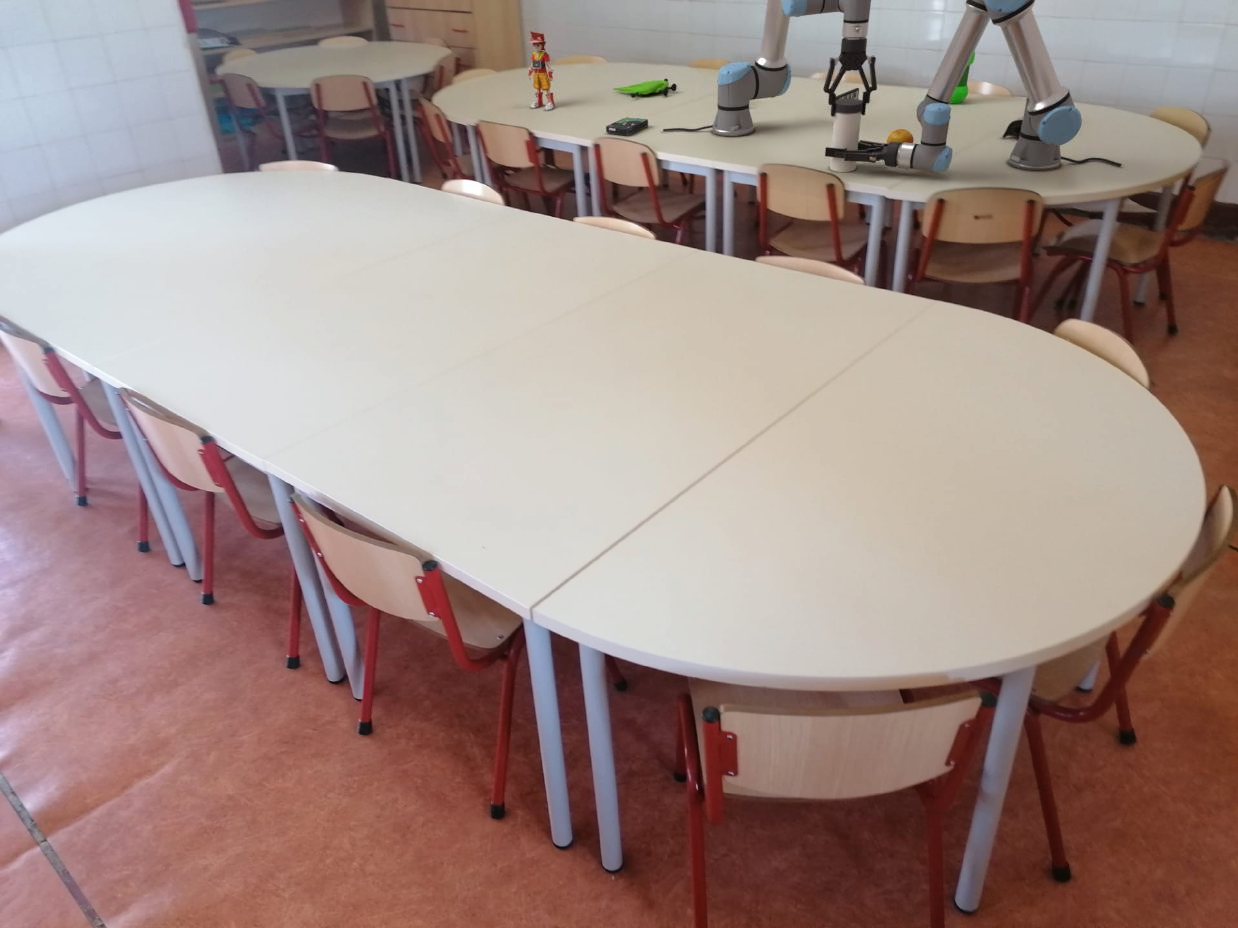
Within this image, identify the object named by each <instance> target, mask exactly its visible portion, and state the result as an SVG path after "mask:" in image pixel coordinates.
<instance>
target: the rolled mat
mask: <svg viewBox="0 0 1238 928" xmlns="http://www.w3.org/2000/svg"><path fill="white" fill-rule="evenodd" d="M1023 116H1024V115H1022V116H1020V117H1018V118H1016V119H1014V120H1013V121H1011V122H1010V123H1009V124H1008V125H1007V127H1006V129H1005V131H1004V133H1003V135H1002V139H1004V138H1006V137H1013V138H1015V139H1016V140H1018V139H1019V137H1020V132H1021V127H1022V122H1023Z"/></svg>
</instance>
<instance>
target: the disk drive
mask: <svg viewBox="0 0 1238 928" xmlns="http://www.w3.org/2000/svg"><path fill="white" fill-rule="evenodd" d="M648 126H649V120H648V119H647V118H639V117H636V118H635V117H628V116H627V117H624V118H621V119H619V120H617V121H614V122H613V123H610V124H608V125H606V126H605V130H606V131H605V132H606V133H607V134H613V135H619V136H621V135H622V136H630V135H633V134H634V133H637V132H638V131H641V130H643V129H645V128H646V127H648Z"/></svg>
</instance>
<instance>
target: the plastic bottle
mask: <svg viewBox="0 0 1238 928" xmlns="http://www.w3.org/2000/svg"><path fill="white" fill-rule="evenodd" d="M975 57H976V50H975V51H974V53H973V55H972V57H971V59H970V61H969V63H968V65H967V67H966V69H965V71H964V73H963V75H962V77H961V79H960V81H959V84H958V86H957V88H956V90H955V92H954V94H953V96H952V98H951V100H950V102H949V104H960V103H961V102H963V101H964V100H966V98H967V96H968V95H969V85H968V79H969V73H970V67H971V65H972V64H973V63H974V61H975Z"/></svg>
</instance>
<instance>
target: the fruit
mask: <svg viewBox="0 0 1238 928" xmlns="http://www.w3.org/2000/svg"><path fill="white" fill-rule="evenodd" d="M914 140H915V139H914V136H913V134H912V132H910V130H907V129H904V128H898V129H894V130H893V131H891V132H890V133H889V134H888V136H887V138H886V143H887V144H889V142H891V141H892V142H901V143H902V144H903V143H904V142H905V143H914V142H915V141H914Z"/></svg>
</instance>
